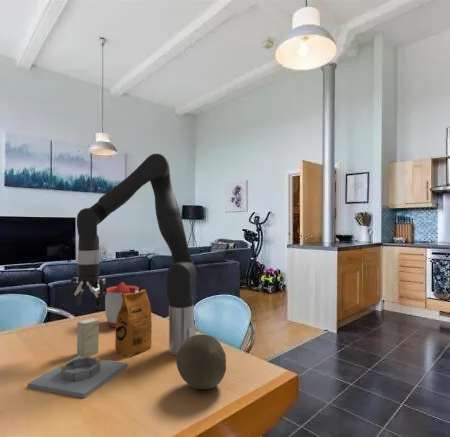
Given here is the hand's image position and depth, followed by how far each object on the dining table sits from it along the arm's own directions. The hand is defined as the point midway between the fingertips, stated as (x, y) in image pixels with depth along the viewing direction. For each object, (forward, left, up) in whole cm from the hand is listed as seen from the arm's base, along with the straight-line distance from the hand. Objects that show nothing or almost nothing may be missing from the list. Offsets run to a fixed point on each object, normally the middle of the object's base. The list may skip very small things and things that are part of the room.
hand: (88, 306), depth 117 cm
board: (-10, +15, -17) cm, 25 cm away
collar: (-10, +15, -16) cm, 24 cm away
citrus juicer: (+8, -33, -18) cm, 38 cm away
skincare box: (0, 0, -18) cm, 18 cm away
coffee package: (-14, -8, -18) cm, 24 cm away
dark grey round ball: (-49, +11, -18) cm, 53 cm away
